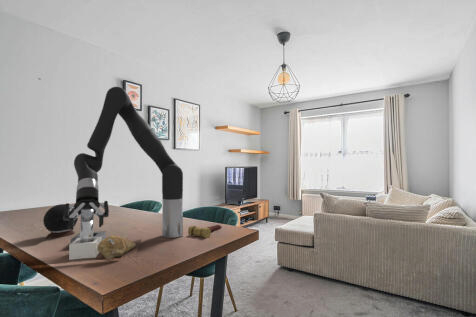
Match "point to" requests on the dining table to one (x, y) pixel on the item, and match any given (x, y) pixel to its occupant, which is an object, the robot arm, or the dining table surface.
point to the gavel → (202, 231)
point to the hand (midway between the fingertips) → (86, 227)
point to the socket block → (95, 234)
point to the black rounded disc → (57, 222)
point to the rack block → (84, 249)
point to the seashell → (115, 246)
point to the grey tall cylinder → (86, 225)
